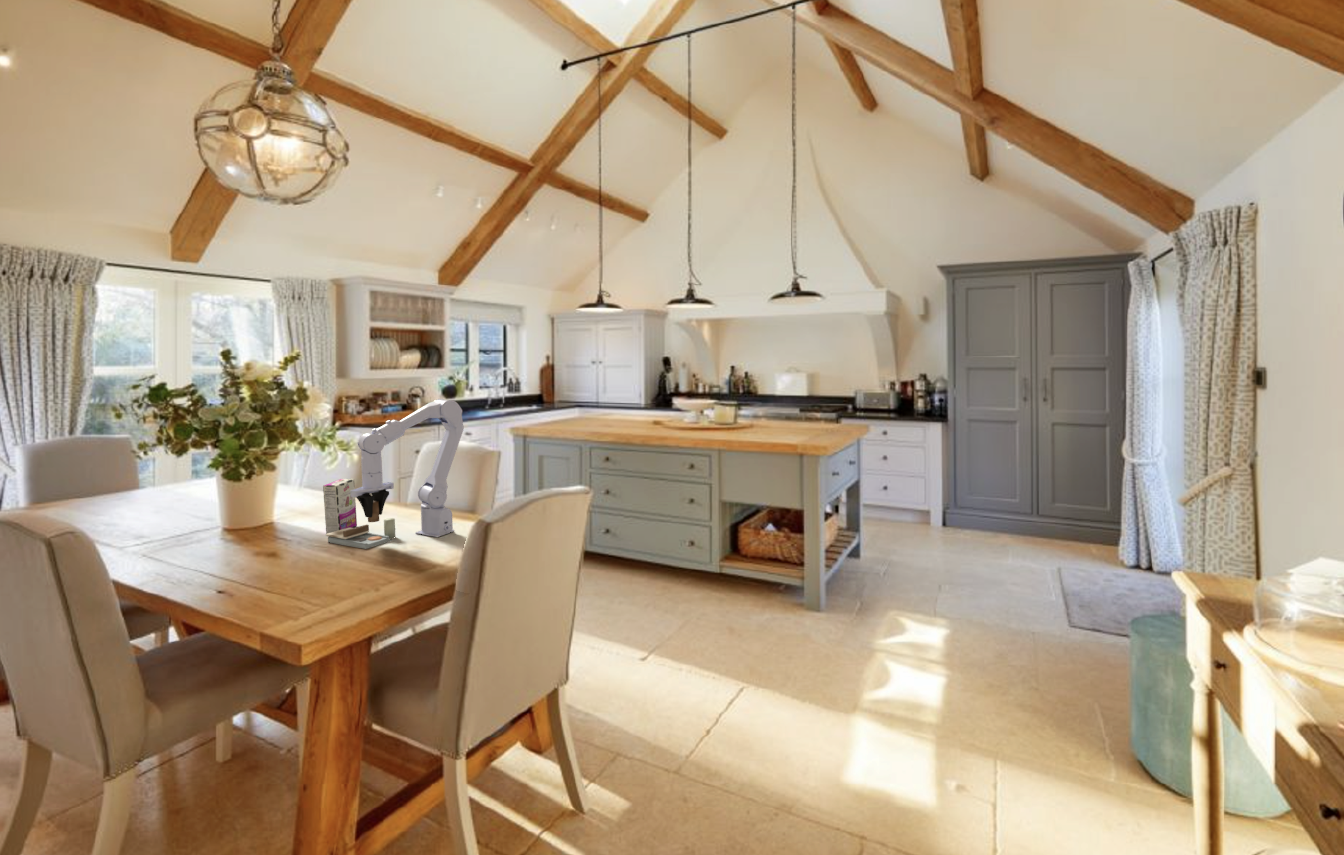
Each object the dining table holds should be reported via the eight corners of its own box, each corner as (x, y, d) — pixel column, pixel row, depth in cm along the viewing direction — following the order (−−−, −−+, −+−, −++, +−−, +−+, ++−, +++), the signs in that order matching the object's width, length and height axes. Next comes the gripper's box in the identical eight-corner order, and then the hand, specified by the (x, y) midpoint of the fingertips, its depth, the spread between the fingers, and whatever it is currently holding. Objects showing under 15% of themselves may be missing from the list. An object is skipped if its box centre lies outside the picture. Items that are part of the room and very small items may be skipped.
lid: (368, 532, 207) (368, 524, 207) (345, 539, 199) (345, 531, 199) (349, 529, 210) (349, 521, 210) (326, 535, 202) (325, 528, 202)
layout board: (389, 541, 204) (389, 536, 204) (365, 548, 196) (365, 543, 196) (352, 535, 210) (352, 530, 210) (328, 542, 202) (327, 537, 202)
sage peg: (397, 537, 209) (396, 518, 208) (389, 539, 206) (389, 521, 205) (390, 535, 210) (389, 517, 209) (382, 538, 207) (381, 519, 206)
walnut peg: (374, 519, 204) (373, 500, 203) (381, 520, 203) (380, 501, 202) (365, 521, 201) (364, 502, 200) (373, 522, 200) (372, 503, 199)
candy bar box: (342, 525, 221) (340, 478, 219) (357, 526, 221) (355, 478, 219) (324, 534, 210) (322, 484, 208) (340, 535, 210) (337, 485, 208)
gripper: (361, 477, 192) (363, 522, 193) (400, 469, 205) (401, 511, 207) (344, 475, 195) (346, 519, 196) (383, 467, 208) (385, 509, 209)
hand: (373, 515), depth 202 cm, fingers closed on walnut peg, 3 cm apart
